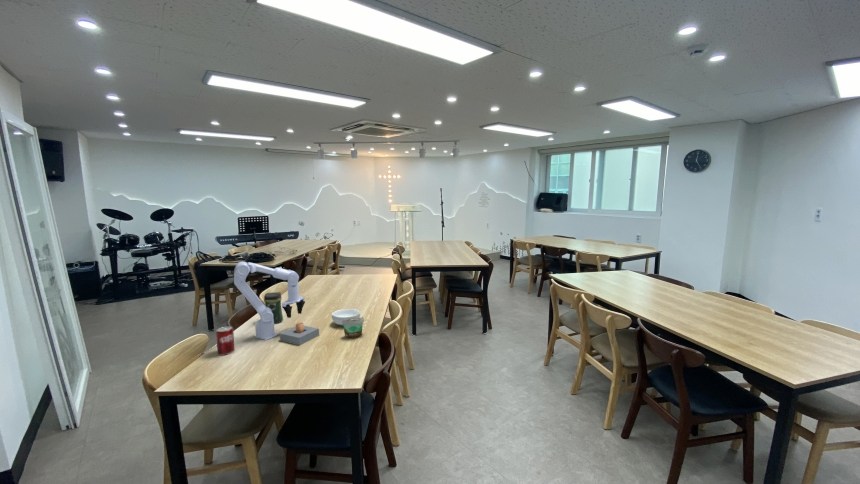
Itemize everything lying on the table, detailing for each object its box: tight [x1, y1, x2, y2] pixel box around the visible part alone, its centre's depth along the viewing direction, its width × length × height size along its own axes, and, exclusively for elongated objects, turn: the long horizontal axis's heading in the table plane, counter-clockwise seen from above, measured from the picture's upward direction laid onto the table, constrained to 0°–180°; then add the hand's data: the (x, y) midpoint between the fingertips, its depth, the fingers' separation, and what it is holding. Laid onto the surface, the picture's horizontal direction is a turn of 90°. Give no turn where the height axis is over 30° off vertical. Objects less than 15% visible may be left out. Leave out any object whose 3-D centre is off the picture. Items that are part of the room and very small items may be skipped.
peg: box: [295, 322, 305, 334], centre depth 178 cm, size 4×4×8 cm
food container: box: [342, 316, 365, 339], centre depth 180 cm, size 12×6×10 cm, turn 117°
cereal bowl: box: [331, 308, 361, 327], centre depth 200 cm, size 17×17×7 cm
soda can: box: [215, 326, 236, 356], centre depth 161 cm, size 7×7×12 cm
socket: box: [279, 325, 320, 346], centre depth 178 cm, size 14×14×4 cm
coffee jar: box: [263, 292, 284, 324], centre depth 202 cm, size 10×8×19 cm
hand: (294, 315), depth 187 cm, fingers open, 7 cm apart
